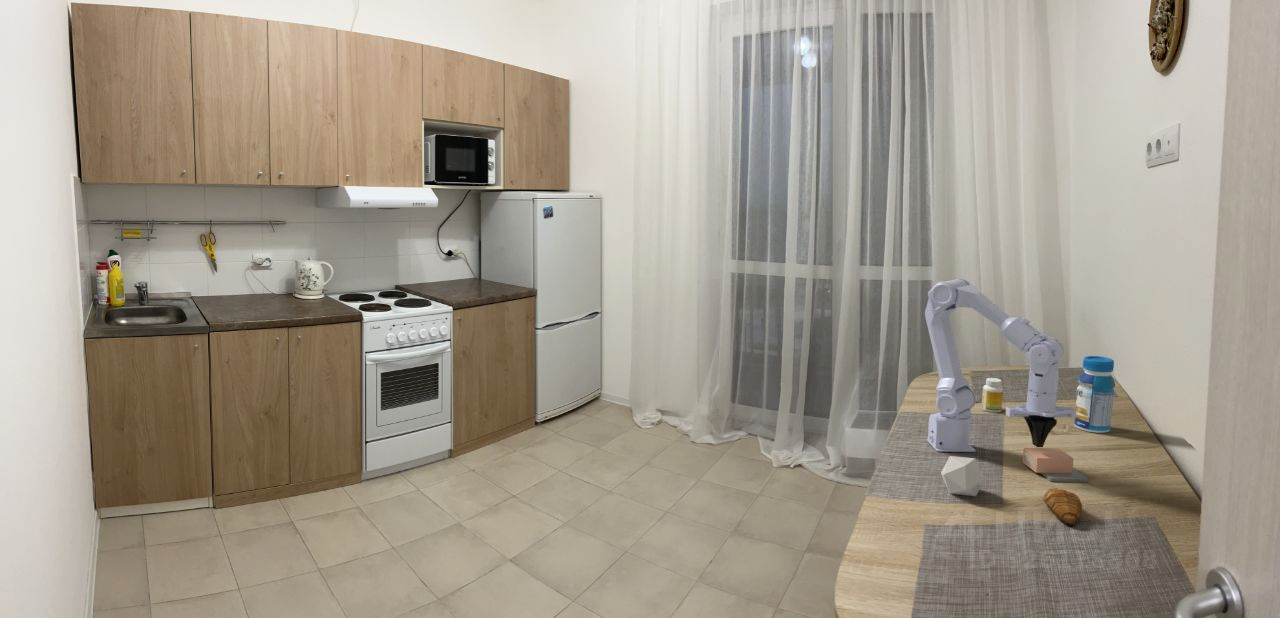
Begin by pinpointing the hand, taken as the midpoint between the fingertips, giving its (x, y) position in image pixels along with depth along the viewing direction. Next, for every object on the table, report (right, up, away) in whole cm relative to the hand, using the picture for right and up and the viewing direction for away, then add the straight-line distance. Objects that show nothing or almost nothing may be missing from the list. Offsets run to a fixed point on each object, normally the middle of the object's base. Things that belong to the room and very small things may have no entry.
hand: (1037, 445), depth 146 cm
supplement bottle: (+13, +1, +42) cm, 44 cm away
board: (+4, -6, +1) cm, 7 cm away
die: (-22, -9, -8) cm, 25 cm away
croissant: (-7, -10, -18) cm, 21 cm away
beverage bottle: (+32, -1, +25) cm, 41 cm away
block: (-1, -4, +1) cm, 4 cm away
